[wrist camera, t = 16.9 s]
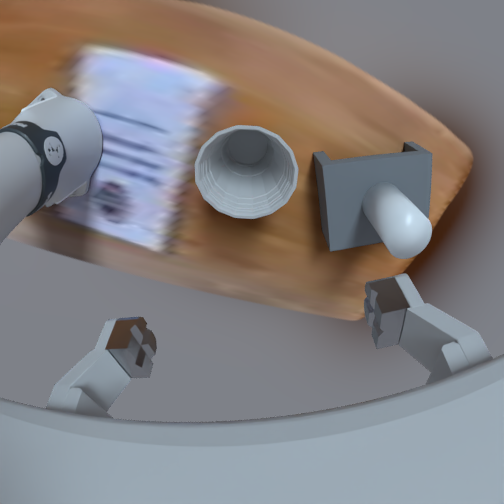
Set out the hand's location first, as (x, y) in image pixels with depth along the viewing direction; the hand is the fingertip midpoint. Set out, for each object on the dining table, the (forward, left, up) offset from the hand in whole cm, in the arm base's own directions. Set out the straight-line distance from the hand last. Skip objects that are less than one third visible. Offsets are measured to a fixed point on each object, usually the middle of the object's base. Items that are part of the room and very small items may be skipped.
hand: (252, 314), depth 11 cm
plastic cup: (-1, -3, -34) cm, 34 cm away
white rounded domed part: (+16, -12, -28) cm, 34 cm away
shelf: (+16, -12, -34) cm, 39 cm away
